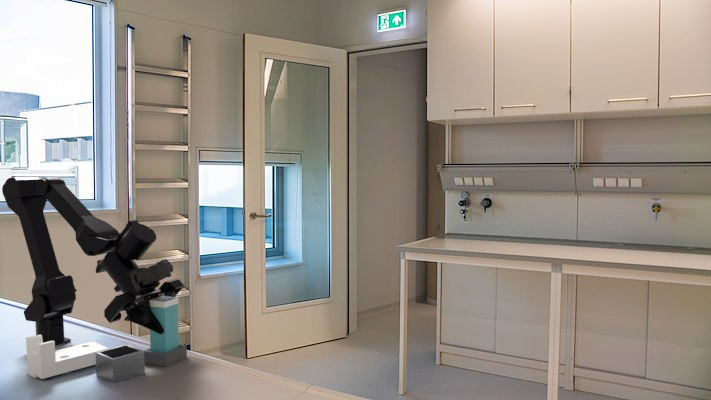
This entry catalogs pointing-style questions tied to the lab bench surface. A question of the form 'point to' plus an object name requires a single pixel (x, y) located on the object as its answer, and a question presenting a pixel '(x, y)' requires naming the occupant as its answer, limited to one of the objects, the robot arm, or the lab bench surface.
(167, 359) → the frame
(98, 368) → the box
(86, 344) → the bracket
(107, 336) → the lab bench surface
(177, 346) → the plug
